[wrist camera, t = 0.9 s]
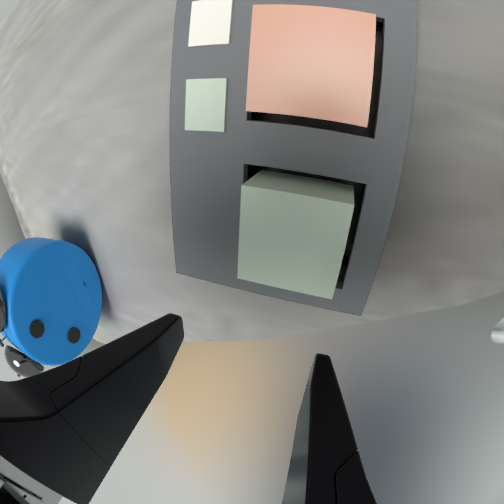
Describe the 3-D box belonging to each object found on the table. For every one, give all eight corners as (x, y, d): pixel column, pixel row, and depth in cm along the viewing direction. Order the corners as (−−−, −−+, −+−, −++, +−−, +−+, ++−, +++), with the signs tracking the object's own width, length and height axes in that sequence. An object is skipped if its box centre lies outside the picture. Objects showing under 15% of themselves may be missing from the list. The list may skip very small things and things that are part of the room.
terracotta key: (370, 32, 11) (376, 14, 8) (362, 123, 14) (367, 127, 11) (271, 22, 12) (252, 4, 9) (265, 110, 15) (245, 111, 12)
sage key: (353, 185, 16) (354, 205, 13) (336, 266, 18) (332, 299, 15) (261, 170, 17) (241, 185, 14) (255, 250, 20) (237, 278, 17)
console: (397, -73, 7) (403, -102, 4) (361, 282, 21) (360, 317, 18) (218, -78, 10) (193, -101, 7) (200, 247, 24) (174, 274, 21)
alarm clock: (56, 218, 29) (-42, 282, 16) (86, 219, 27) (-26, 296, 15) (86, 307, 35) (15, 379, 22) (118, 318, 33) (42, 402, 21)
